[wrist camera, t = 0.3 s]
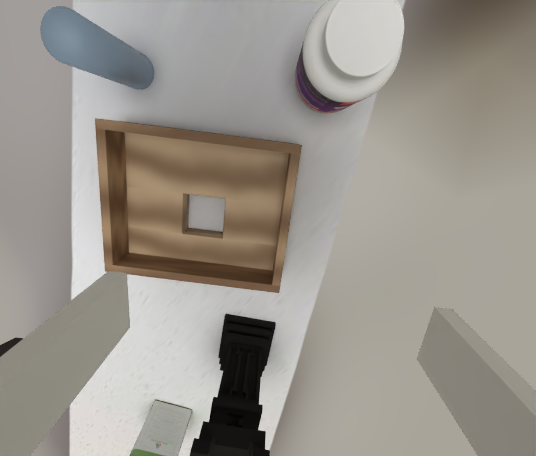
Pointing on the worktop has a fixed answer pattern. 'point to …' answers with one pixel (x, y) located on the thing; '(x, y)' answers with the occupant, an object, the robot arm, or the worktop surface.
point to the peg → (93, 49)
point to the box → (177, 198)
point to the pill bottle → (348, 52)
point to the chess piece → (238, 391)
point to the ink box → (162, 431)
